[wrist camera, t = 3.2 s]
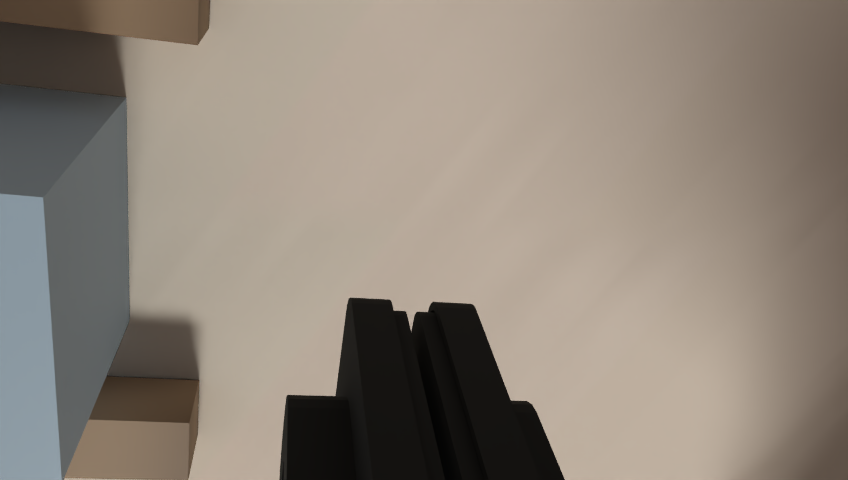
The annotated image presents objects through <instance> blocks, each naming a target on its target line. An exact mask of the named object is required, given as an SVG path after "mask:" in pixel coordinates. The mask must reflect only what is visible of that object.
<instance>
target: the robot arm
mask: <svg viewBox="0 0 848 480" xmlns="http://www.w3.org/2000/svg"><path fill="white" fill-rule="evenodd" d="M280 480H565V479H564V477H563V475H562V472H561V470H560V467H559V465H558V463H557V460H556V458H555V455H554V453H553V451H552V448H551V446H550V443H549V441H548V439H547V436H546V434H545V431H544V429H543V427H542V424H541V422H540V419H539V417H538V415H537V412H536V411H535V409H534V407H533V405H532V404H530V403H529V402H527V401H511V400H510V398H509V395H508V393H507V390H506V387H505V385H504V382H503V379H502V377H501V374H500V371H499V369H498V366H497V364H496V361H495V358H494V356H493V353H492V350H491V348H490V345H489V343H488V340H487V337H486V335H485V332H484V329H483V327H482V324H481V321H480V319H479V316H478V314H477V311H476V308H475V307H474V305H472V304H463V303H443V302H432V303H431V305H430V307H429V310H428V312H417V313H416V314H415V317H414V321H413V326H412V332H411V330H410V326H409V321H408V317H407V314H406V312H405V311H393V306H392V302H391V300H385V299H366V298H349V300H348V304H347V311H346V318H345V326H344V334H343V342H342V350H341V358H340V366H339V373H338V381H337V389H336V396H303V395H287V398H286V405H285V416H284V427H283V438H282V450H281V465H280Z"/></svg>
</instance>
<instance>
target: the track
mask: <svg viewBox="0 0 848 480" xmlns="http://www.w3.org/2000/svg"><path fill="white" fill-rule="evenodd" d="M209 9H210V0H0V21H2V22H10V23H18V24H26V25H35V26H43V27H51V28H60V29H68V30H76V31H85V32H93V33H101V34H110V35H118V36H126V37H134V38H143V39H151V40H159V41H168V42H176V43H184V44H193V45H198V44H199V42H200V41H201V39H202V38H203V36H204V35H205V33H206V32H207V30H208V29H209ZM198 402H199V380H179V379H156V378H133V377H111V376H106V378H105V381H104V383H103V386H102V388H101V390H100V393H99V395H98V398H97V400H96V403H95V405H94V407H93V410H92V412H91V415H90V417H89V419H88V422H87V424H86V427H85V429H84V431H83V434H82V436H81V439H80V441H79V443H78V446H77V448H76V451H75V453H74V455H73V458H72V460H71V463H70V465H69V468H68V470H67V472H66V475H65V477H64V478H97V479H144V480H188V478H189V474H190V469H191V464H192V459H193V454H194V450H195V445H196V440H197V435H198Z"/></svg>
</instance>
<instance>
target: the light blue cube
mask: <svg viewBox="0 0 848 480" xmlns="http://www.w3.org/2000/svg"><path fill="white" fill-rule="evenodd" d="M129 321H130V305H129V238H128V172H127V105H126V97H117V96H108V95H99V94H90V93H81V92H72V91H62V90H53V89H44V88H35V87H26V86H17V85H8V84H0V480H64V477H65V475H66V472H67V470H68V468H69V465H70V463H71V460H72V458H73V455H74V453H75V451H76V448H77V446H78V443H79V441H80V439H81V436H82V434H83V431H84V429H85V427H86V424H87V422H88V419H89V417H90V415H91V412H92V410H93V407H94V405H95V403H96V400H97V398H98V395H99V393H100V390H101V388H102V386H103V383H104V381H105V378H106V376H107V374H108V371H109V369H110V366H111V364H112V362H113V359H114V357H115V354H116V352H117V350H118V347H119V345H120V342H121V340H122V338H123V335H124V333H125V330H126V328H127V326H128V323H129Z"/></svg>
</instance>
